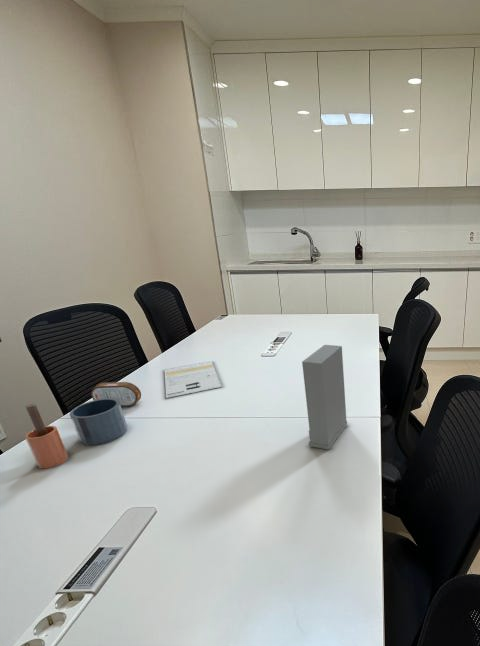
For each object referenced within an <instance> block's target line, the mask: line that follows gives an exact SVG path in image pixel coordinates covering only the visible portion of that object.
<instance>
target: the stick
mask: <svg viewBox="0 0 480 646" xmlns="http://www.w3.org/2000/svg"><path fill="white" fill-rule="evenodd" d="M25 410H26V412H27V414H28V416H29V418H30V421H31V423H32V425H33V428H34V429H35V430H36V432H37V434H38V437H40V436H44V435H46V434H48V432H47V430H46V427H45V426H46V425H45V423H44V421H43V418H42V416H41V413H40V411H39V409H38V407H37V404H36V403H30V404H27V405H25Z"/></svg>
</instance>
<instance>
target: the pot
mask: <svg viewBox="0 0 480 646" xmlns="http://www.w3.org/2000/svg"><path fill="white" fill-rule="evenodd" d="M69 417H70V419H71V422H72V424H73V427H74V429H75V432H76V434H77V435H76V436H77V438H78V439H79V442H80V443H82V444H83V445H85V446H97V445H98V446H99V445H102V444H107V443H110V442H113V441H114V440H117V439H119V438H120V437H122V436H124V435H125V434H126V433H127V430H128V428H129V427H128V424H127V420H126V417H125V413H124V411H123V408H122V407H121V405H120V402H119V401H118V400H117V399H112V398H106V399H98V400H91V401H88V402H84V403H81V404H79V405H77V406H76V407H74V408H73V409H72V410H71V411H70V412H69Z"/></svg>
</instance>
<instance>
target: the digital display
mask: <svg viewBox="0 0 480 646" xmlns="http://www.w3.org/2000/svg"><path fill="white" fill-rule="evenodd" d="M164 383H165V385H164V386H165V398H166V399H169V398H175V397H179V396H183V395H188V394H193V393H198V392H205V391H209V390H214V389H218V388H222V385H221V382H220V380H219V377H218V374H217V372H216V369H215V367H214V364H213V361H207V362H202V363H197V364H191V365H185V366H178V367H173V368H167V369H164Z"/></svg>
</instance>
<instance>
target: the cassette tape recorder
mask: <svg viewBox="0 0 480 646" xmlns="http://www.w3.org/2000/svg"><path fill="white" fill-rule="evenodd" d="M301 363H302V364H301V365H302V374H303V382H304V383H303V384H304V393H305V401H306V409H307V411H306V412H307V420H308V428H309V430H308V437H309V442H308V447H311V448H317V449H324V450H327V451H328V450H330V449H331V448H332V446H333V444H334V443H335V442H336V440H337V439H338V438H339V437H340V435H341V434H342V433H343V432H344V429H345V428H346V426H348V421H347V407H346V406H347V405H346V392H345V391H346V390H345V389H346V388H345V375H344V374H345V373H344V360H343V346H342V345H332V344H323V345H322V346H321V347H320V348H318V349H317V350H315V351H314V352H313V353H312V354H310V355H309V356H308V357H306V358H304V360H303V361H302V362H301Z"/></svg>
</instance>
